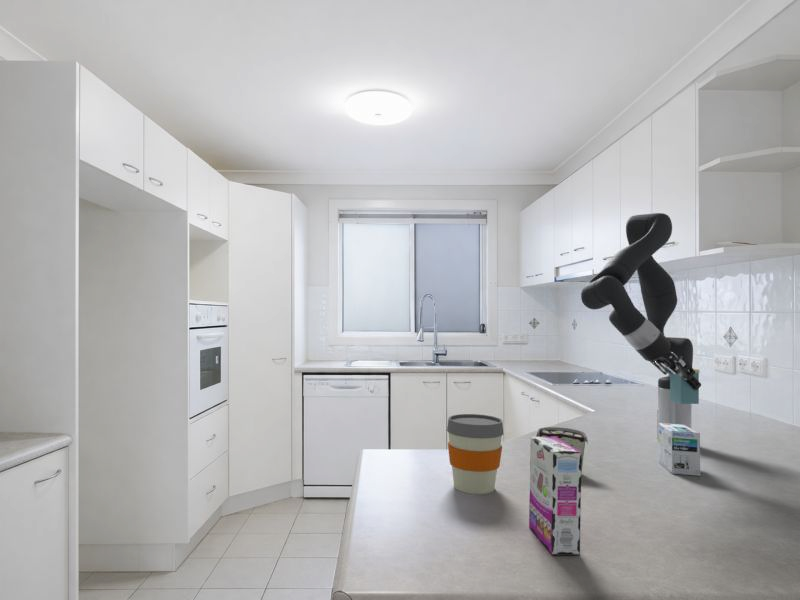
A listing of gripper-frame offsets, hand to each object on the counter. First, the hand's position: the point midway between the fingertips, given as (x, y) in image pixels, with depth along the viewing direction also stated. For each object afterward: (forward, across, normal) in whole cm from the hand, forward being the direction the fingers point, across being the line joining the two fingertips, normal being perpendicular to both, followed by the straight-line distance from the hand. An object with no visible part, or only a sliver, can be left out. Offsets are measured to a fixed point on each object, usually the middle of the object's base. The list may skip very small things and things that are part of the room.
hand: (691, 385), depth 126 cm
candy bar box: (-21, -40, +50) cm, 68 cm away
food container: (-9, 0, +39) cm, 40 cm away
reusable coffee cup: (-27, -14, +57) cm, 64 cm away
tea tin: (+2, 0, +4) cm, 5 cm away
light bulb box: (+14, +1, +17) cm, 22 cm away
